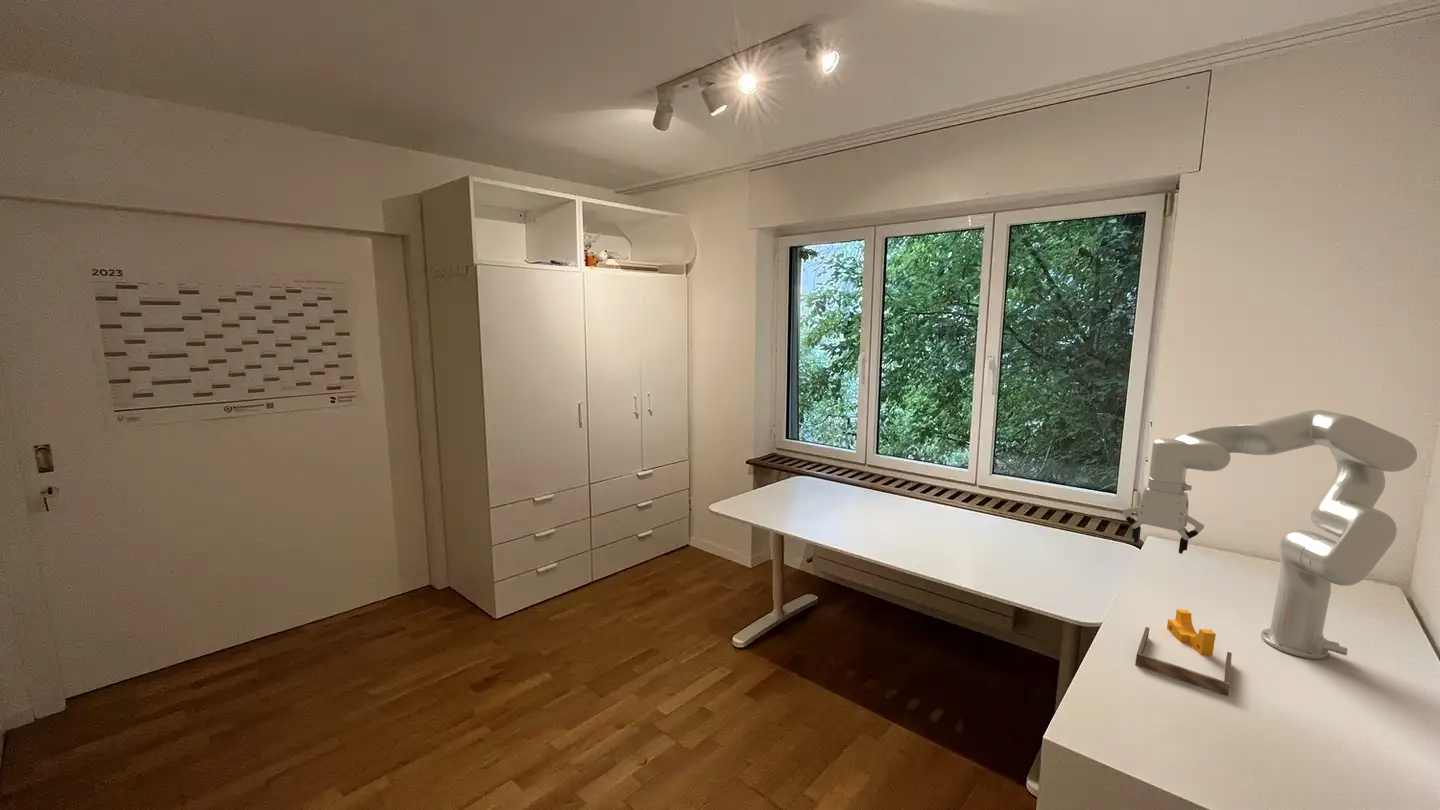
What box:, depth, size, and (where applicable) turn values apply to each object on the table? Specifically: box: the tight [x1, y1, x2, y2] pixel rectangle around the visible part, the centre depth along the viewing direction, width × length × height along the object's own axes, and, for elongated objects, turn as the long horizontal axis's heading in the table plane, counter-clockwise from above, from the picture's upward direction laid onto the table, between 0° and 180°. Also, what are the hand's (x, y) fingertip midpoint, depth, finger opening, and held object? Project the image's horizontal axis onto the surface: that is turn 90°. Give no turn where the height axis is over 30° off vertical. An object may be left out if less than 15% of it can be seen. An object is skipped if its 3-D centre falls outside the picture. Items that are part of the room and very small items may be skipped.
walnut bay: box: [1134, 626, 1233, 697], centre depth 143 cm, size 18×17×3 cm
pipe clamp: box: [1166, 608, 1216, 657], centre depth 153 cm, size 12×4×6 cm, turn 169°
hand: (1158, 546), depth 152 cm, fingers open, 9 cm apart
